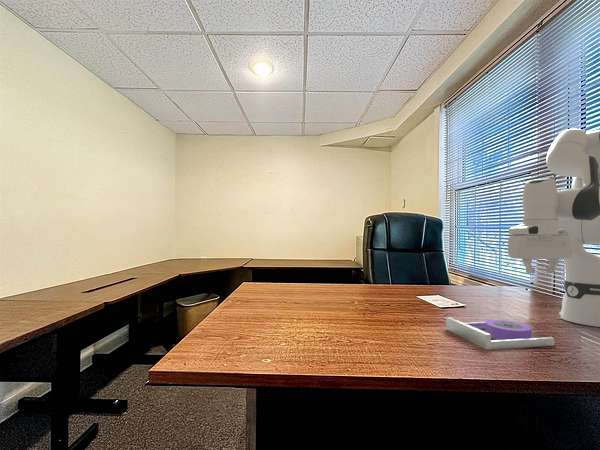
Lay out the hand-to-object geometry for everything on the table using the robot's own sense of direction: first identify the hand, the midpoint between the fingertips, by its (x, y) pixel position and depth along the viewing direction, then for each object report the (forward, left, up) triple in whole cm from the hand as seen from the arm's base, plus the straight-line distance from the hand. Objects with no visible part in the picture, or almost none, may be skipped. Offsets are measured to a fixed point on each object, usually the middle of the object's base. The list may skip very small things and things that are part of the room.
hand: (540, 273), depth 96 cm
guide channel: (+15, 0, -19) cm, 24 cm away
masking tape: (+12, 0, -20) cm, 23 cm away
